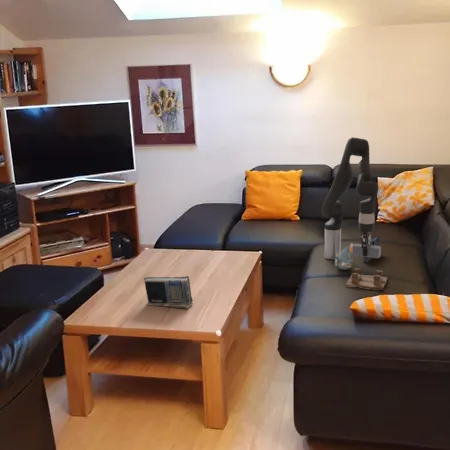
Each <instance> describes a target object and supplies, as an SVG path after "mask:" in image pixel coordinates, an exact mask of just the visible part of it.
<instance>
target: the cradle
mask: <svg viewBox="0 0 450 450" xmlns="http://www.w3.org/2000/svg"><path fill="white" fill-rule="evenodd" d="M361 272H362V270H361V268H359V267H358V268H357V267H355V268H354V271H353V272H351V275H350V277H349V278H348V280H347V282H346V283H345V287H346V286H355V287H362V288H370V289H376V290H375V291H379V290H383V291H384V289H385V287H384V286H386V284H387V282H388V277H386V276H383V274H384V271H383V270H379V269H377V270H376V271H375V274H373V275H368V274H367V275H366V274H362V273H361ZM383 288H384V289H383Z"/></svg>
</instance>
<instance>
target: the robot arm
mask: <svg viewBox="0 0 450 450" xmlns="http://www.w3.org/2000/svg"><path fill="white" fill-rule="evenodd" d="M351 156H354V157H361V159H360V161H359V162H358V163H357V166H356V168H355V171H356V177H357V183H356V187H355V191H356V193H357V196H359V197H369V198H367V199H363V200H360V201H359V215H358V231H359V232H361V233H362V235H361V238H360V240H361V244H362V249H363V256H367V249H368V245H370V243H371V240H372V233H373V232H374V231H375V219H376V218H375V203H376V199H377V195H378V192H379V184H378V183H377V181H373V175H372V171H371V165H370V164H371V163H370V145H369V141H368V140H367V139H364V138H360V137H353V136H352V137H349V138H348V140H347V141H346V144H345V147H344V151H343V154H342V157H341V161H340V163H339V166H338V169H337V170H336V173H335V176H334V177H333V182H332V184H331V187H330V189H329V191H328V194H327V196H326V198H325V200H324V201H323V203H322V207H321V214H322V216H323V217H324V218H327V219H329V220H327V221H326V222H325V223H324V255H323V257H324V258H325V259H327V260H335V257H336V254H337V253H338V259H339V255H340V253H341V251H342V250H341V249H342V226H343V219H344V206H343V204H342V202H341V201H340V200H339V199H340V198H341V197H342V196H343V195H344V194H345V193H346V192H347V190H349V188H350V186H351V184H352V181H353V179H354V172H353V169H352V166H351V162H350V159H351ZM364 245H366V246H364Z"/></svg>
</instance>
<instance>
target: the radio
mask: <svg viewBox="0 0 450 450" xmlns="http://www.w3.org/2000/svg"><path fill="white" fill-rule="evenodd" d="M143 279H144V286H145V292H146V297H147V302H148V303H145V306H149V307H150V306H152V307H164V308H173V309H183V310H184V309H185V310H188V309H189V308H190V307H192V305H193V304H194V303H193V301H194V299H193V297H192V290H191V282H190V276H188V275H187V276H173V277H170V276H147V277H144V278H143Z"/></svg>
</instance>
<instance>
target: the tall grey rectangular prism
mask: <svg viewBox="0 0 450 450" xmlns="http://www.w3.org/2000/svg"><path fill="white" fill-rule="evenodd" d="M353 244H354V245H352V246H351V247H350V248H349V253H350V254H352V256H354V257H362V258H363V257H370V258H372V259H380V258H381V256H382V253H381V252H382V246H381V245H379V246H373V245H368V249H367V256H363V249H362V243H353ZM364 246H366V245H364Z"/></svg>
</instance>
